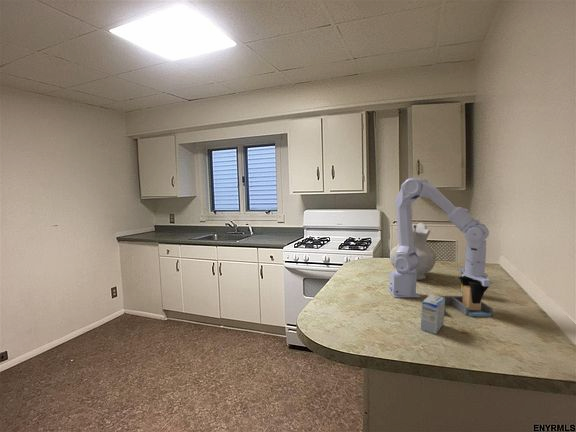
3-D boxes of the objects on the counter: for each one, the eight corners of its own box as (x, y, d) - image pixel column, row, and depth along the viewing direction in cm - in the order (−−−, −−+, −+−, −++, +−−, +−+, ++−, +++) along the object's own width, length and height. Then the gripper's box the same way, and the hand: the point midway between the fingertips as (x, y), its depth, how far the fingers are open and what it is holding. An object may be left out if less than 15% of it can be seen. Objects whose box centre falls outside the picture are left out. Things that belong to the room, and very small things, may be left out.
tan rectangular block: (468, 310, 106) (469, 289, 105) (462, 305, 110) (463, 285, 109) (480, 310, 105) (482, 289, 105) (473, 305, 109) (475, 285, 109)
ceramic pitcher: (440, 288, 133) (448, 229, 131) (391, 281, 136) (399, 224, 133) (426, 273, 155) (433, 222, 152) (384, 268, 158) (390, 218, 155)
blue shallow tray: (443, 316, 103) (443, 308, 102) (427, 302, 114) (428, 295, 114) (493, 316, 103) (494, 309, 102) (472, 302, 114) (473, 296, 114)
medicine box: (428, 321, 99) (429, 293, 98) (443, 325, 96) (445, 297, 96) (420, 330, 93) (421, 301, 92) (436, 334, 90) (438, 305, 89)
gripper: (501, 266, 98) (498, 309, 100) (474, 255, 113) (472, 293, 114) (478, 266, 99) (475, 309, 100) (454, 255, 113) (452, 292, 114)
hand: (472, 300), depth 107 cm, fingers closed on tan rectangular block, 4 cm apart
